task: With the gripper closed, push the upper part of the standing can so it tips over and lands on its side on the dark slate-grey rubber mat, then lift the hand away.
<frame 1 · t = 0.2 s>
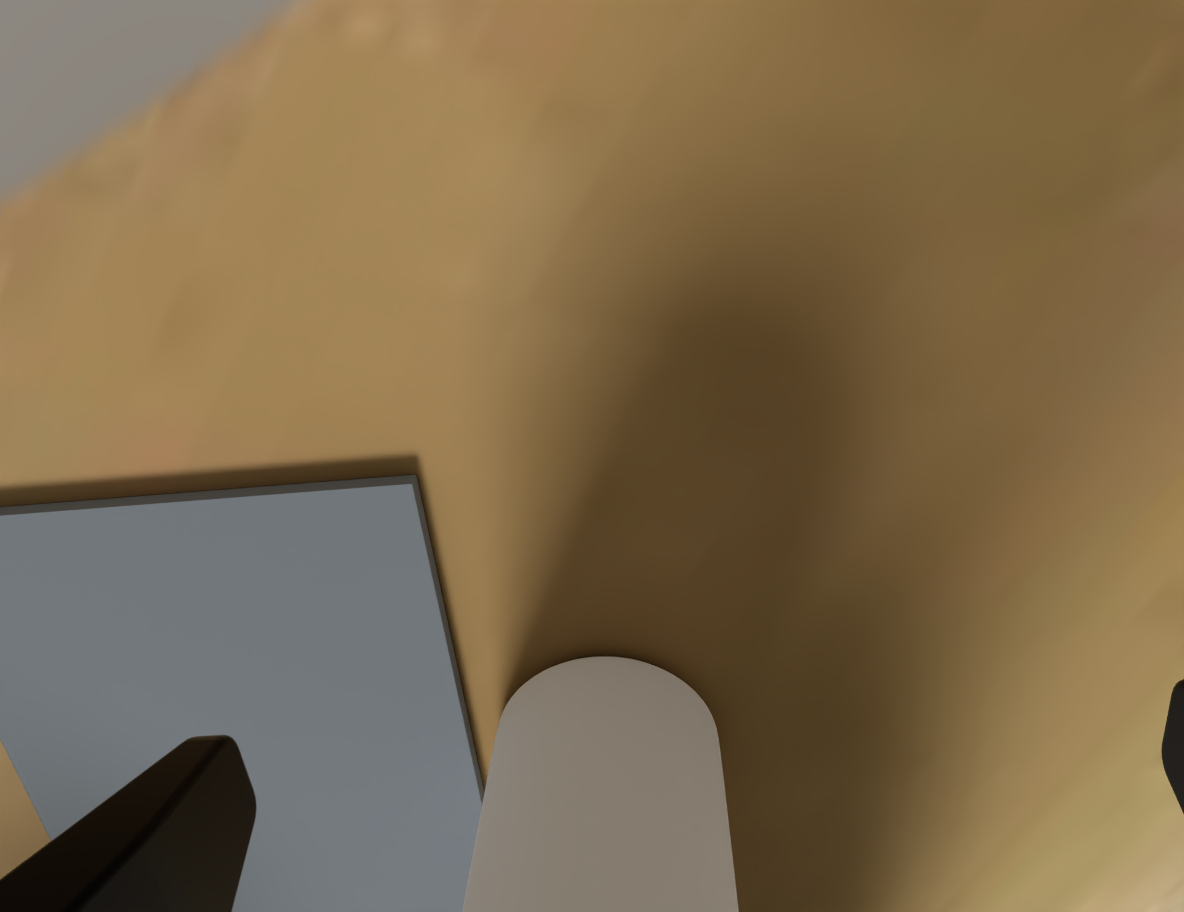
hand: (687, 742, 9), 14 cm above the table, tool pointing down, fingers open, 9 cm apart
can: (607, 730, 28), on the table
mat: (237, 729, 28), on the table
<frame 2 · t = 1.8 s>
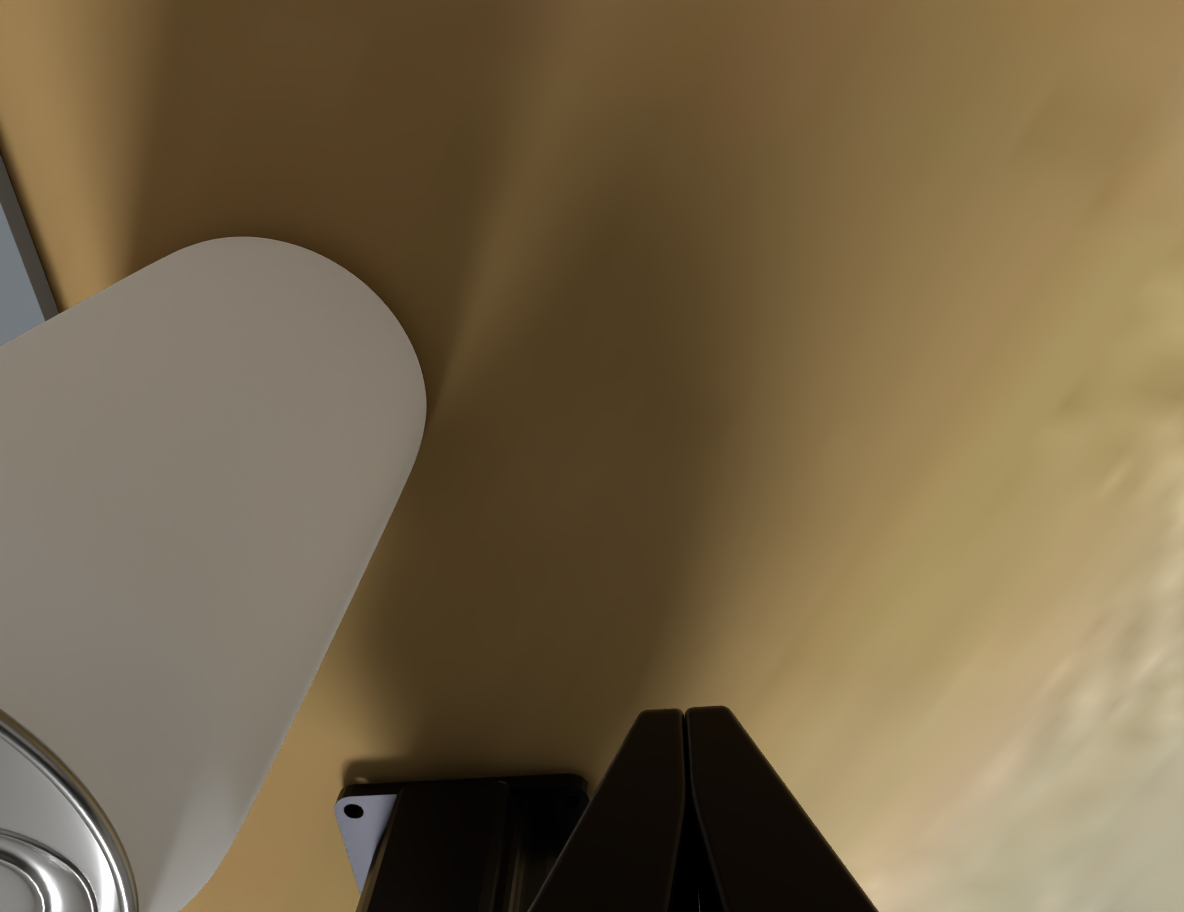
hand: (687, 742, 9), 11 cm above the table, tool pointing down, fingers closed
can: (280, 383, 20), on the table
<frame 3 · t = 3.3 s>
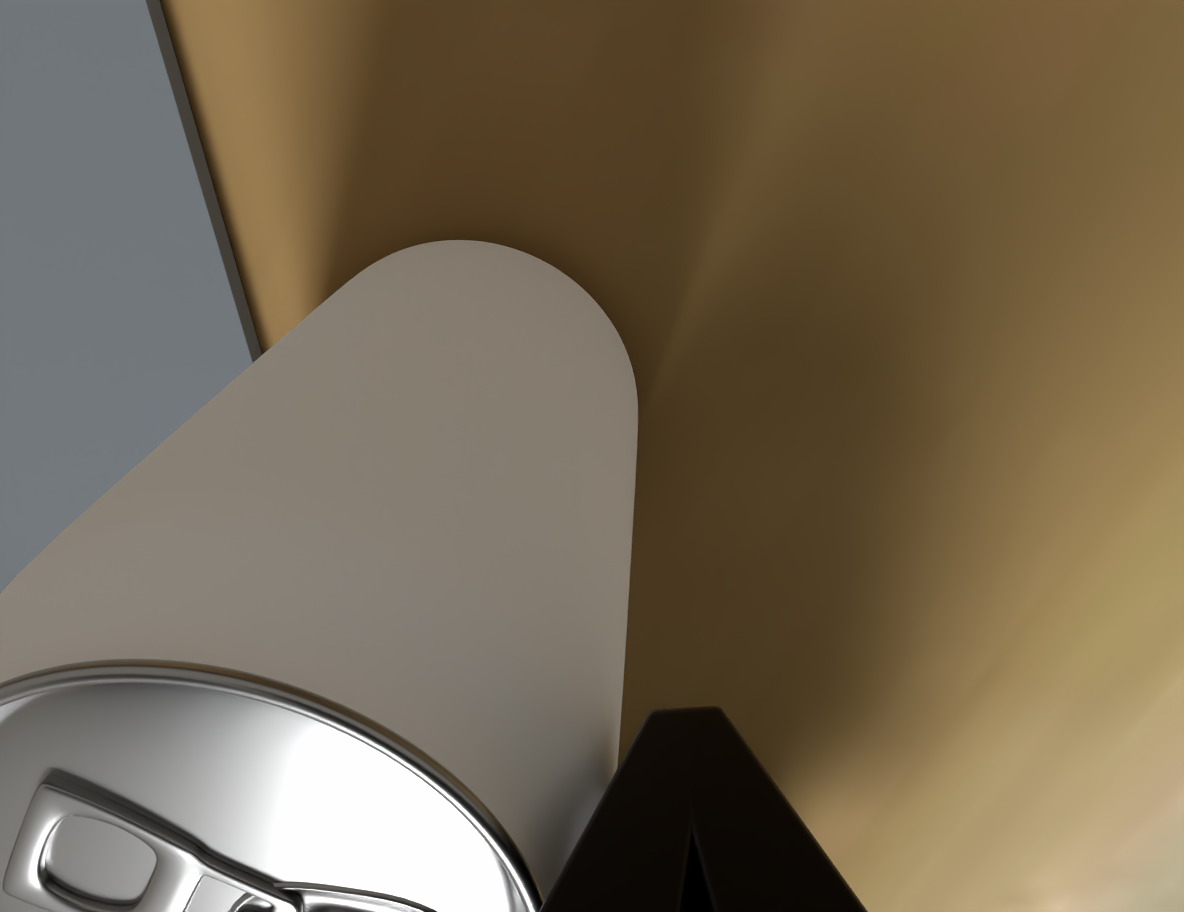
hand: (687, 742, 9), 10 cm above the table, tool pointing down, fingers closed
can: (477, 394, 19), on the table, touching gripper
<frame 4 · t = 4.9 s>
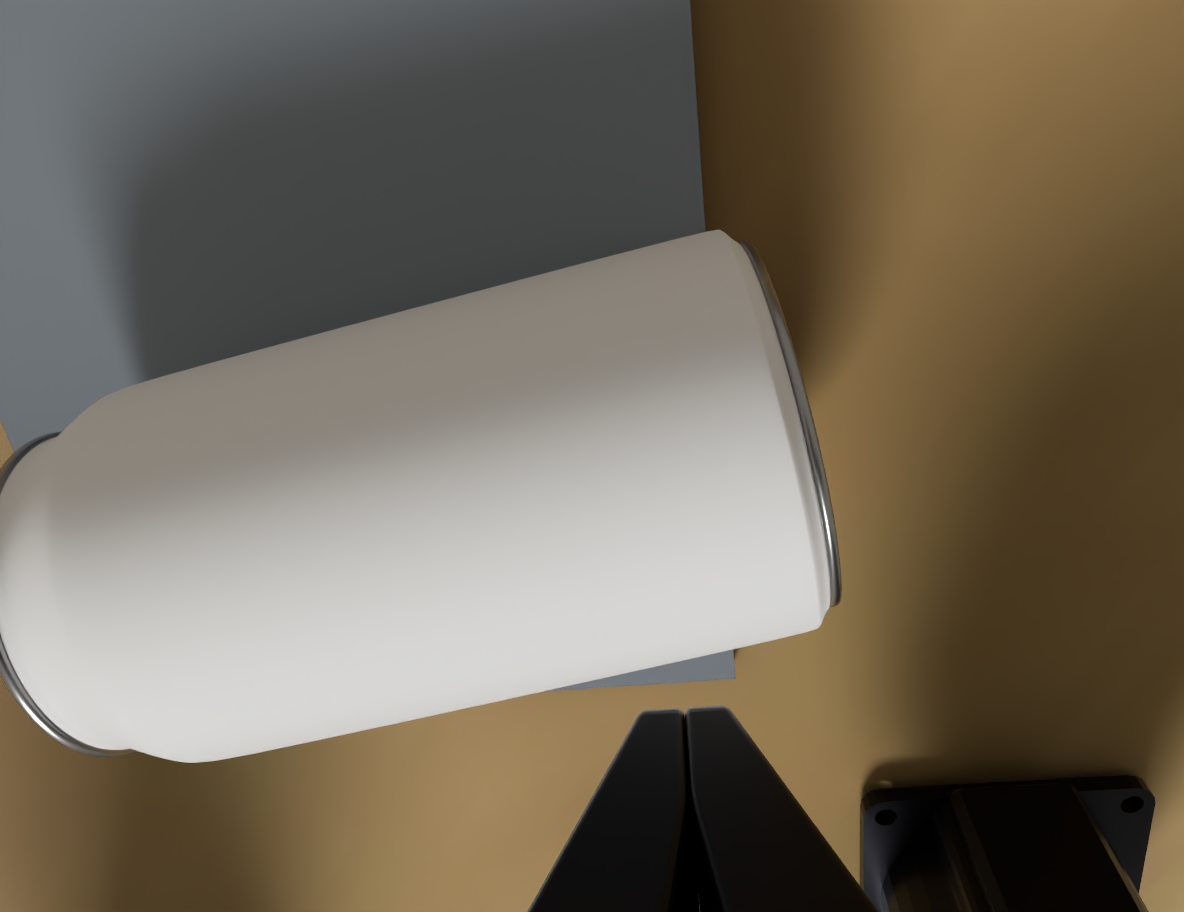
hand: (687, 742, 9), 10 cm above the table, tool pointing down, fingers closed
can: (802, 419, 15), point 3 cm above the table, touching mat
mat: (346, 356, 18), on the table
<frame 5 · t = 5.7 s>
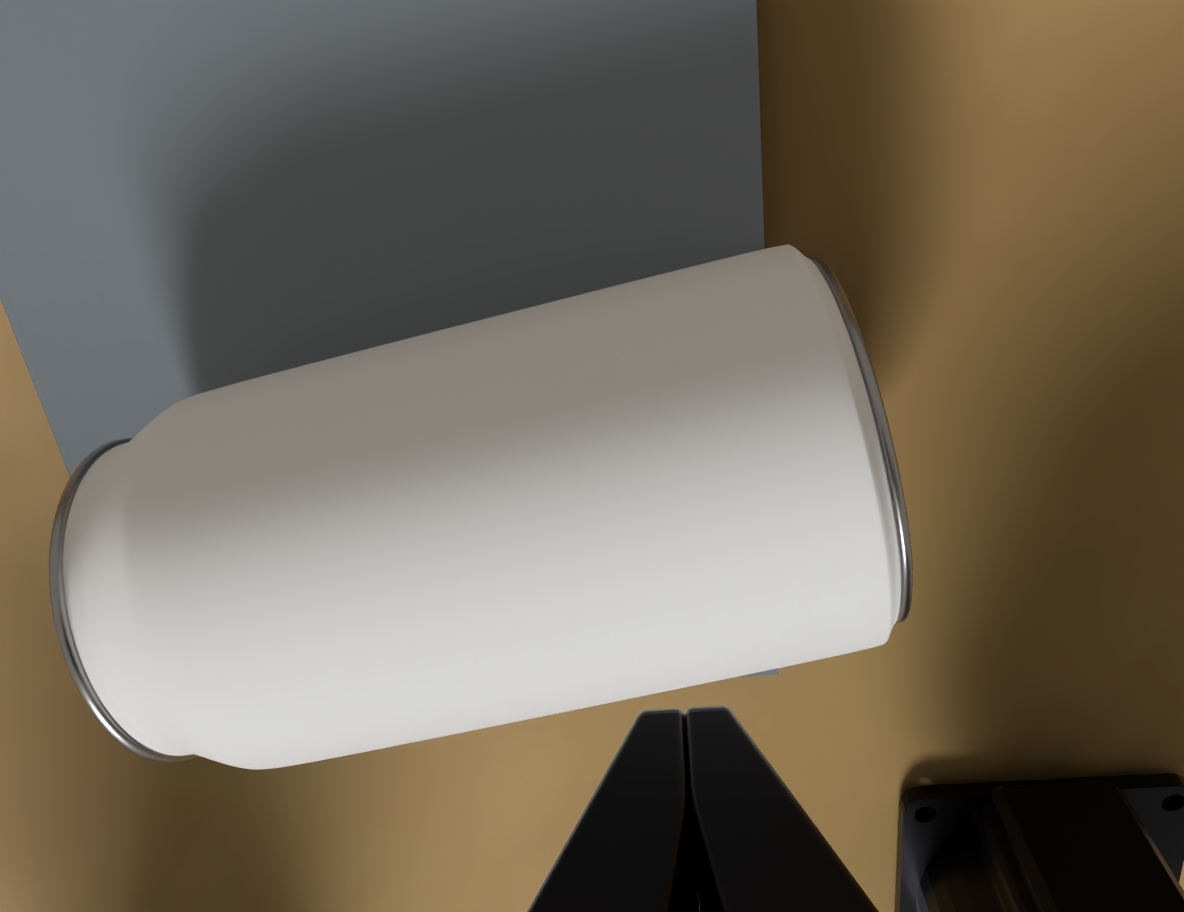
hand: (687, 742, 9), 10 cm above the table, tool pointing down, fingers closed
can: (867, 434, 15), point 3 cm above the table, touching mat
mat: (395, 346, 18), on the table
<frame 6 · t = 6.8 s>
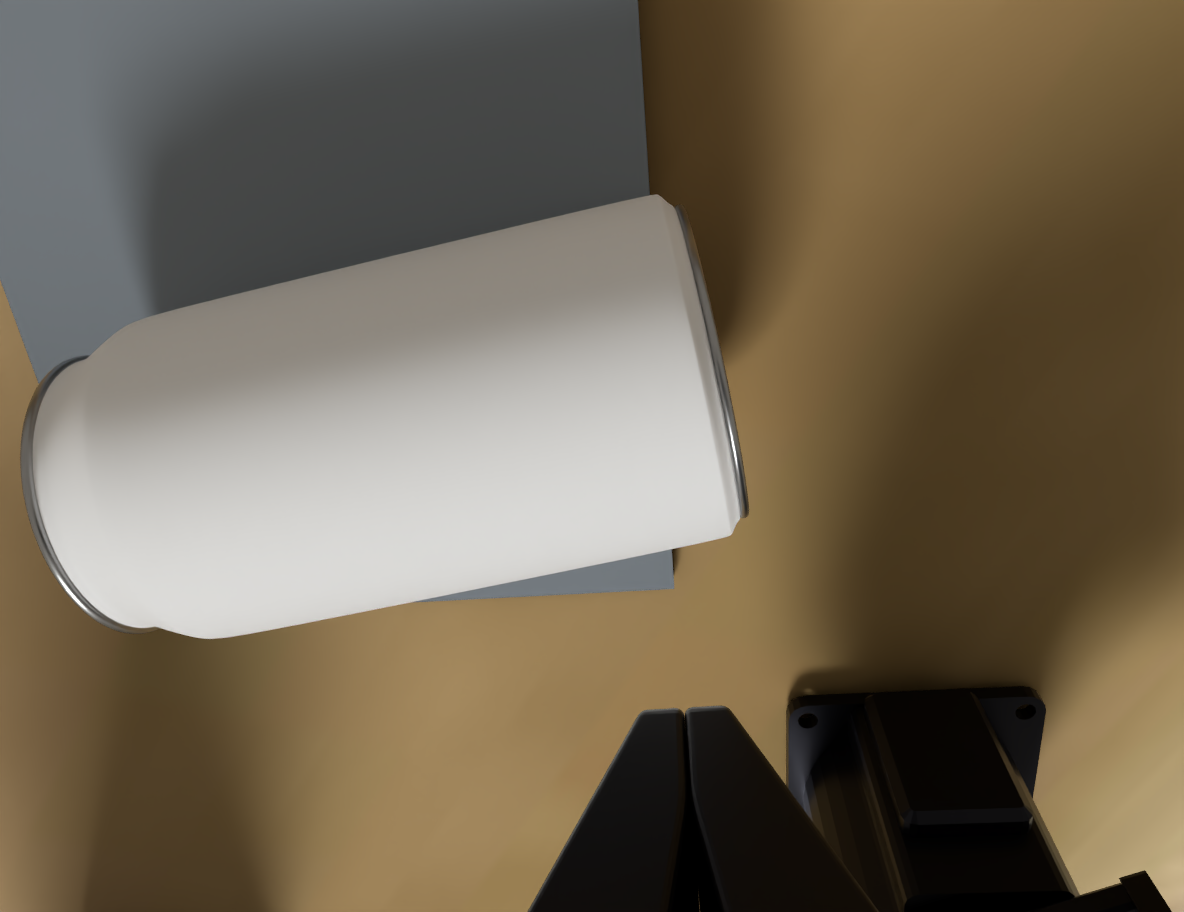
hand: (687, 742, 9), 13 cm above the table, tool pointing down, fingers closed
can: (725, 359, 18), point 3 cm above the table, touching mat
mat: (332, 285, 21), on the table
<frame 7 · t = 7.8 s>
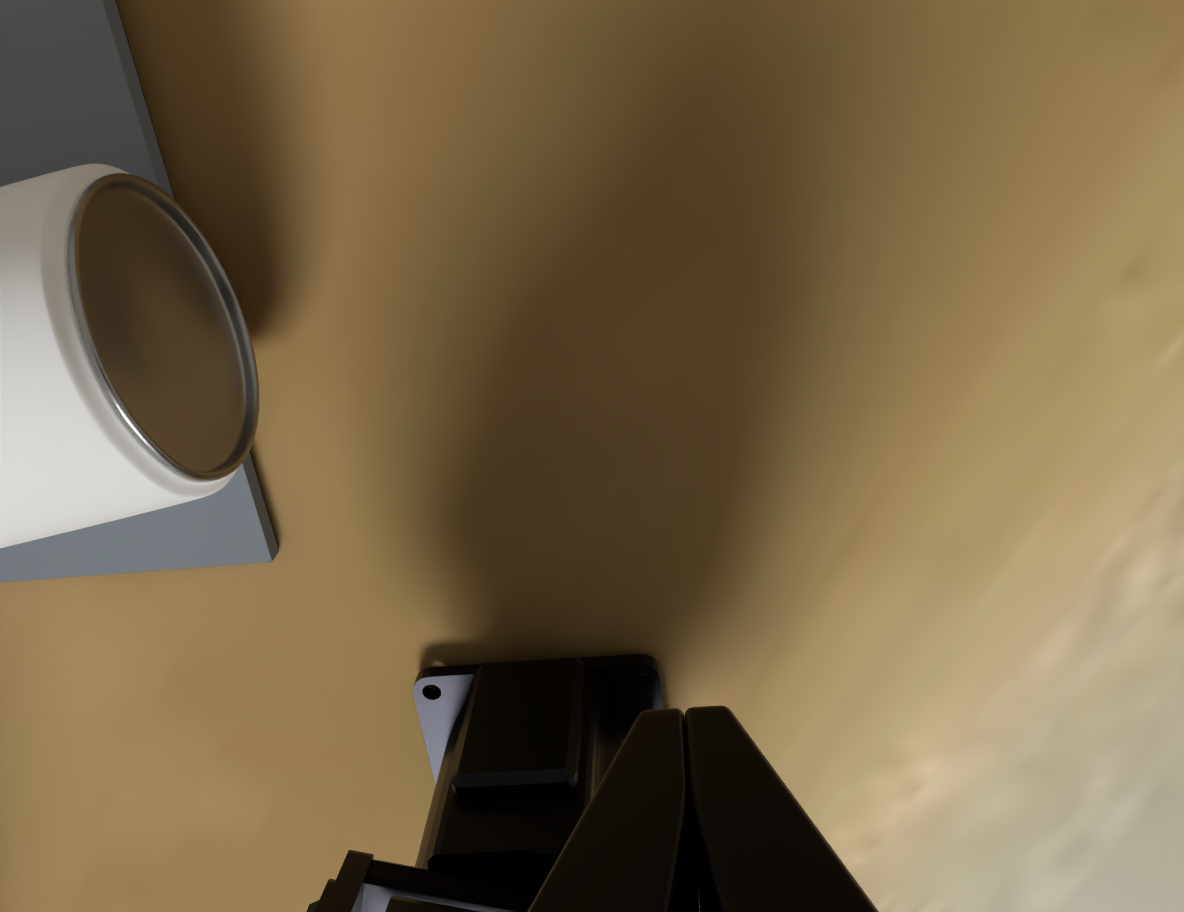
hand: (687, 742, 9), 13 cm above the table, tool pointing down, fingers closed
can: (191, 325, 18), point 3 cm above the table, touching mat
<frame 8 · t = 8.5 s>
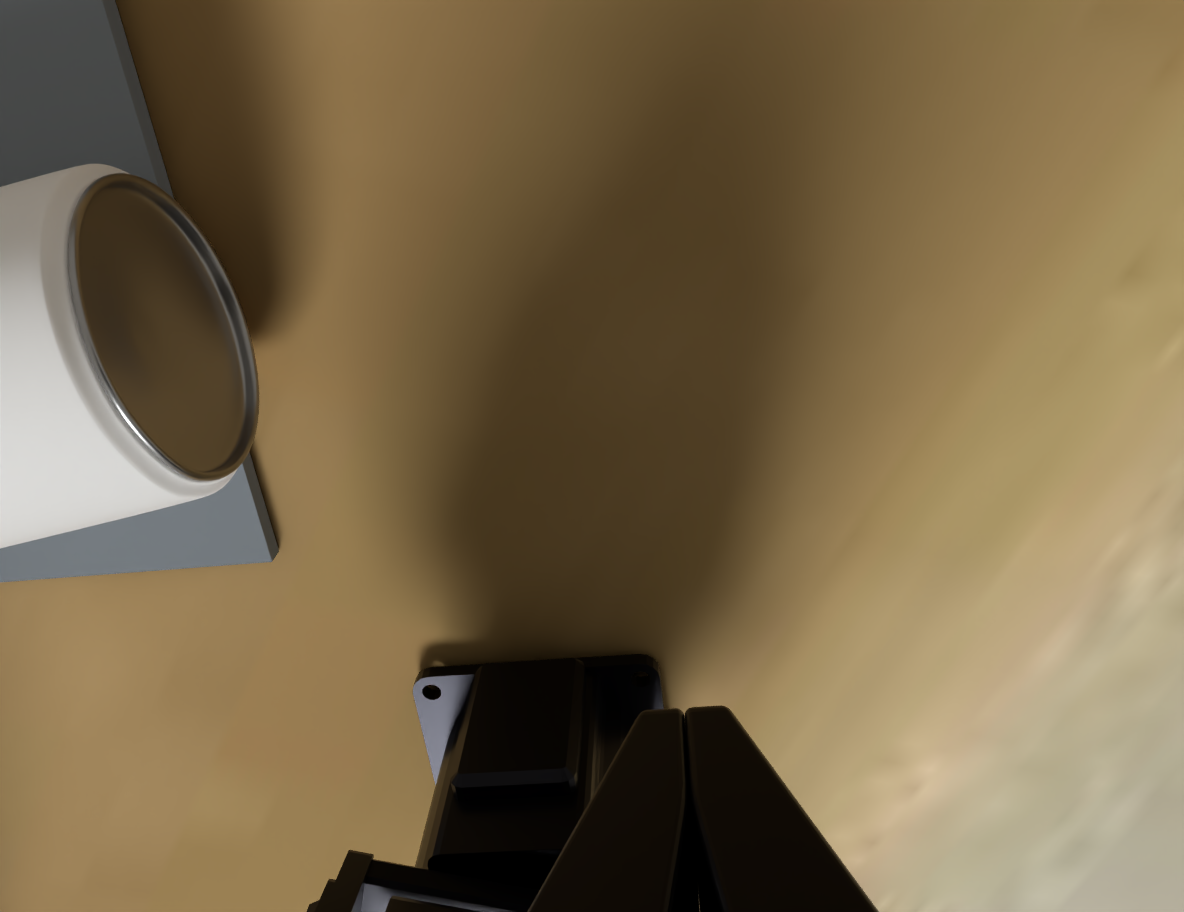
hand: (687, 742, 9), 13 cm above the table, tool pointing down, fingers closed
can: (191, 326, 18), point 3 cm above the table, touching mat
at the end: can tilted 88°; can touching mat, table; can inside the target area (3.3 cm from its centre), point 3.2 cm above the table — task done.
